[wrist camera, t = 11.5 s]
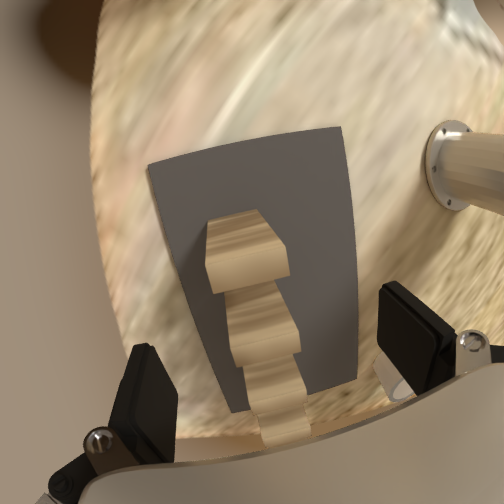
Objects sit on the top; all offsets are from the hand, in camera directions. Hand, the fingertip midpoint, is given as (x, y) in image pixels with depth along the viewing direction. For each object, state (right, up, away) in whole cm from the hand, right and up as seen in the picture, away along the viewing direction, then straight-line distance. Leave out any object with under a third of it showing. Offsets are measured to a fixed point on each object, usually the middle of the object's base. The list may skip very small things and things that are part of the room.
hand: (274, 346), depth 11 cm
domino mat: (+2, -2, +23) cm, 23 cm away
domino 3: (+1, -11, +25) cm, 28 cm away
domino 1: (-1, +1, +21) cm, 21 cm away
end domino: (-3, +6, +18) cm, 20 cm away
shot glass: (+21, -14, +30) cm, 39 cm away
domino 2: (0, -5, +23) cm, 23 cm away
